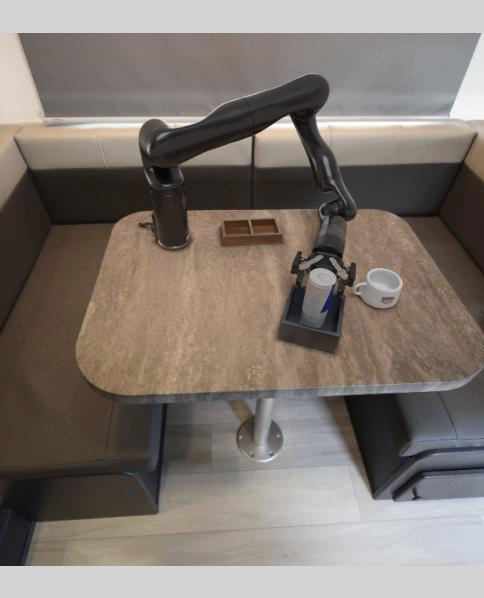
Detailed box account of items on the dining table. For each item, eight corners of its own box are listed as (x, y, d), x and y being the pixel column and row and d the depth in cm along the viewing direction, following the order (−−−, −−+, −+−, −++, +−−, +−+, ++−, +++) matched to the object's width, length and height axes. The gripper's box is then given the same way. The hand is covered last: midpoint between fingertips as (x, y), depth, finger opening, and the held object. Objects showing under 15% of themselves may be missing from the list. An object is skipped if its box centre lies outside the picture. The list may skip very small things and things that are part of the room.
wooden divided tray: (221, 227, 110) (220, 219, 108) (275, 225, 112) (276, 217, 109) (223, 245, 104) (223, 237, 101) (281, 242, 105) (282, 234, 103)
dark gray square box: (289, 301, 88) (292, 283, 84) (339, 313, 86) (345, 295, 81) (278, 339, 80) (280, 321, 75) (333, 353, 77) (339, 336, 73)
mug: (388, 282, 94) (396, 265, 89) (402, 309, 87) (412, 292, 83) (344, 284, 93) (350, 267, 89) (356, 311, 86) (362, 294, 82)
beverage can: (322, 334, 80) (337, 287, 69) (298, 330, 81) (308, 283, 70) (323, 316, 84) (337, 269, 73) (300, 313, 85) (310, 265, 74)
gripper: (302, 227, 85) (288, 269, 74) (362, 239, 82) (357, 284, 72) (298, 252, 91) (284, 294, 80) (354, 264, 88) (348, 309, 77)
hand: (318, 289), depth 76 cm, fingers open, 8 cm apart
